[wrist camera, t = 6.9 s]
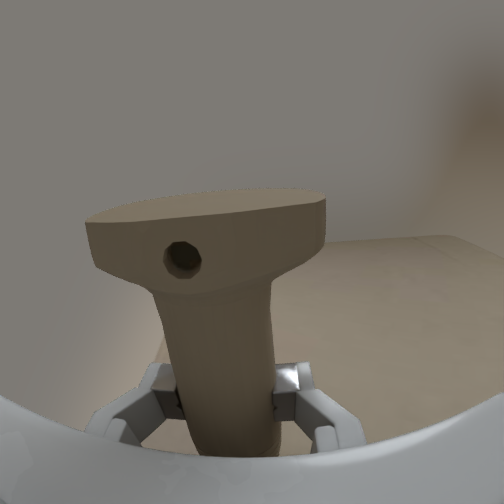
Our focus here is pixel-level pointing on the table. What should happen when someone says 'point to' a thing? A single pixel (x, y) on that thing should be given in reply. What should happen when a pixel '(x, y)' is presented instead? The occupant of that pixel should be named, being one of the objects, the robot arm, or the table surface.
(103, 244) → the handle
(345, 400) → the table surface
